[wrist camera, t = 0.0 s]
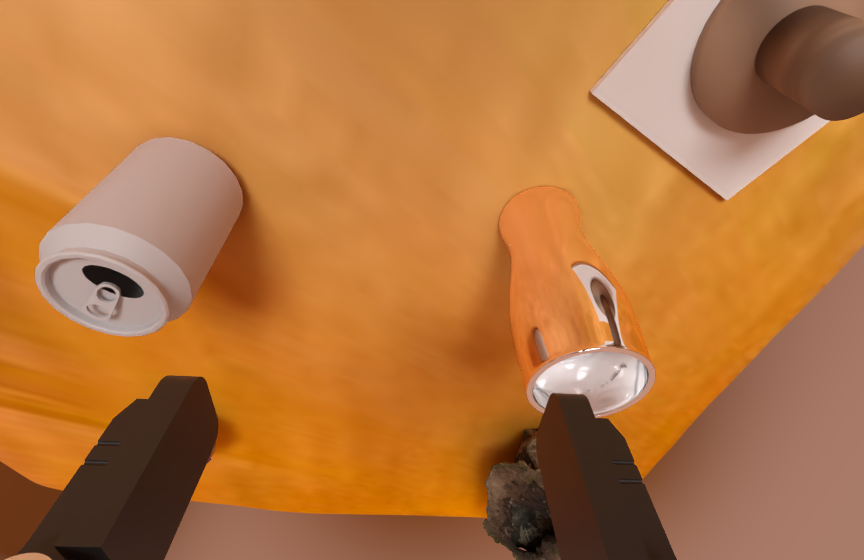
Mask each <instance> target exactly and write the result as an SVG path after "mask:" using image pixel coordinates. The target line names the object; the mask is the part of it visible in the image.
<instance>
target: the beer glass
mask: <svg viewBox="0 0 864 560" xmlns="http://www.w3.org/2000/svg"><path fill="white" fill-rule="evenodd" d="M499 230H500V234H501V236H502V239H503V241H504V242H505V244H506V246H507V248H508V250H509V253H510V257H511V277H510V295H509V311H510V324H511V332H512V338H513V343H514V348H515V352H516V356H517V360H518V364H519V368H520V371H521V375H522V378H523V381H524V385H525V389H526V395H527V399H528V401H529V402H530V404H531V405H532V406H533V407H534V408H535V409H536V410H538V411H539V412H541V413H543V414H544V411H545V408H546V405H547V402H548V399H549V397H550V395H551V394H552V393H565V394H584V395H585V396H586V397H587V398H588V400H589V402H590V405H591V408H592V410H593V413H594V415H595V418H598V417H603V416H607V415H610V414H614V413H616V412H619V411H622V410H624V409H626V408H628V407H630V406H632V405H633V404H635V403H637V402H638V401H639V400H641V399H642V398H643V397H644V396H645V395H646V394H647V393H648V392H649V391H650V389H651V388H652V386H653V384H654V382H655V377H656V373H655V368H654V366H653V364H652V362H651V360H650V357H649V354H648V351H647V347H646V344H645V341H644V338H643V335H642V332H641V330H640V327H639V324H638V321H637V319H636V317H635V314H634V312H633V309H632V307H631V305H630V303H629V301H628V299H627V297H626V295H625V293H624V291H623V289H622V287H621V286H620V284H619V283H618V281H617V280H616V278H615V277H614V275H613V274H612V272H611V271H610V269H609V268H608V267H607V266H606V264H605V263H604V262H603V260H602V259H601V258H600V256H599V255H598V254H597V253H596V251H595V250H594V249H593V248H592V246H591V245H590V244H589V242H588V241H587V240H586V238H585V236H584V234H583V232H582V229H581V221H580V211H579V207H578V204H577V202H576V201H575V199H574V198H573V197H572V196H571V195H570V194H569V193H567V192H566V191H564V190H562V189H559V188H556V187H550V186H541V187H535V188H531V189H528V190H525V191H523V192H521V193H519V194H518V195H516V196H515V197H514V198H512V199H511V200H510V201H509V202H508V203H507V205H506V206H505V207H504V209H503V211H502V213H501V216H500V220H499Z"/></svg>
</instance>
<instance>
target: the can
mask: <svg viewBox="0 0 864 560" xmlns="http://www.w3.org/2000/svg"><path fill="white" fill-rule="evenodd" d="M242 207H243V194H242V189H241V187H240V185H239V182H238V180H237V178H236V176H235V175H234V173H233V172H232V171H231V170H230V168H229V167H228V166H227V165H226V164H225V162H224V161H222V160H221V159H220V158H218V157H217V156H216V155H215V154H213V153H212V152H211V151H209V150H208V149H206V148H204V147H201V146H199V145H197V144H195V143H193V142H191V141H187V140H182V139H177V138H173V137H165V138H153V139H151V140H149V141H146V142H144V143H142V144H140V145H139V146H138V147H137V148H135V149H134V150H133V151H132V152H131V153H130V154H129V155H128V156H127V157H126V158H125V159H124V160H123V161H122V162H121V163H120V164H119V165H118V166H117V167H116V168H115V169H113V170H112V171H111V172H110V173H109V174H108V175H107V176H106V177H105V178H104V179H103V180H102V181H101V182H100V183H99V184H98V185H97V186H96V187H95V188H94V189H93V190H92V191H90V192H89V193H88V194H87V195H86V196H85V197H84V198H83V199H82V200H81V201H80V202H79V203H78V204H77V205H76V206H75V207H74V208H73V209H72V210H71V211H70V212H68V213H67V214H66V215H65V216H64V217H63V218H62V219H61V220H60V221H59V222H58V223H57V224H56V225H55V226H54V227H53V228H52V229H51V230H50V231H49V232H48V233H47V234H46V236H45V237H44V238H43V240H42V241H41V243H40V244H39V260H40V263H39V264H38V266H37V267H36V268H35V282H36V284H37V286H38V288H39V290H40V292H41V294H42V296H43V297H44V298H45V299H46V300H47V301H48V302H49V303H50V304H51V305H52V306H53V307H54V308H55V309H56V310H58V311H59V312H60V313H62V314H63V315H65V316H66V317H68V318H69V319H71V320H73V321H75V322H77V323H79V324H81V325H83V326H85V327H87V328H90V329H93V330H96V331H100V332H103V333H106V334H111V335H119V336H126V337H127V336H144V335H147V334H150V333H153V332H156V331H158V330H159V329H161V328H162V327H163V326H164V325H165V324H166V323H167V322H169V321H172V320H175V319H178V318H179V317H180V316H181V315H182V314H183V313H185V312H186V311H187V310H188V309H189V307H190V305H191V303H192V301H193V299H194V298H195V296H196V294H197V292H198V290H199V288H200V287H201V285H202V283H203V281H204V279H205V277H206V276H207V274H208V272H209V270H210V268H211V266H212V265H213V263H214V261H215V259H216V257H217V256H218V254H219V252H220V250H221V248H222V246H223V245H224V243H225V241H226V239H227V237H228V235H229V234H230V232H231V230H232V228H233V226H234V224H235V223H236V221H237V219H238V217H239V215H240V212H241V210H242Z"/></svg>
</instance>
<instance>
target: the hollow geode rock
mask: <svg viewBox="0 0 864 560" xmlns="http://www.w3.org/2000/svg"><path fill="white" fill-rule="evenodd" d="M537 432H538V431H537V430H534V429H527V430H525V432H524V436H523V439H522V441H521V444H520V449H519V451H518V453H517V455H516V457H515V460H514V463H512V464H510V463H508V462H501V463H499V464H496V465H495V466H492V469H491V471H490V475H489V477H488V479H487V480H486V481H485V485H486V487H487V494H488V496H489V498H488V501H487V507H486V511H487V514H488V516H487V517H488V519H485V520H484V522H483V525H484V528H485V529H486V532H487V533H488V535H489V536H491V537H493V538H494V540H495V542H496V543H499V542H501V544H502V545H504V546H505V547H507V548H508V549H509V550H510V551H512V552H513V557H514V558H516V560H561V558H560V554H559V549H558V545H557V541H556V536H555V532H554V528H553V524H552V519H551V515H550V511H549V506H548V502H547V498H546V493H545V489H544V485H543V480H542V476H541V472H540V467H539V463H538V459H537V452H536V437H537ZM517 547H518V548H517ZM519 547H522V548H524V549H525V550H527V551H524V550H521V549H519Z"/></svg>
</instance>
